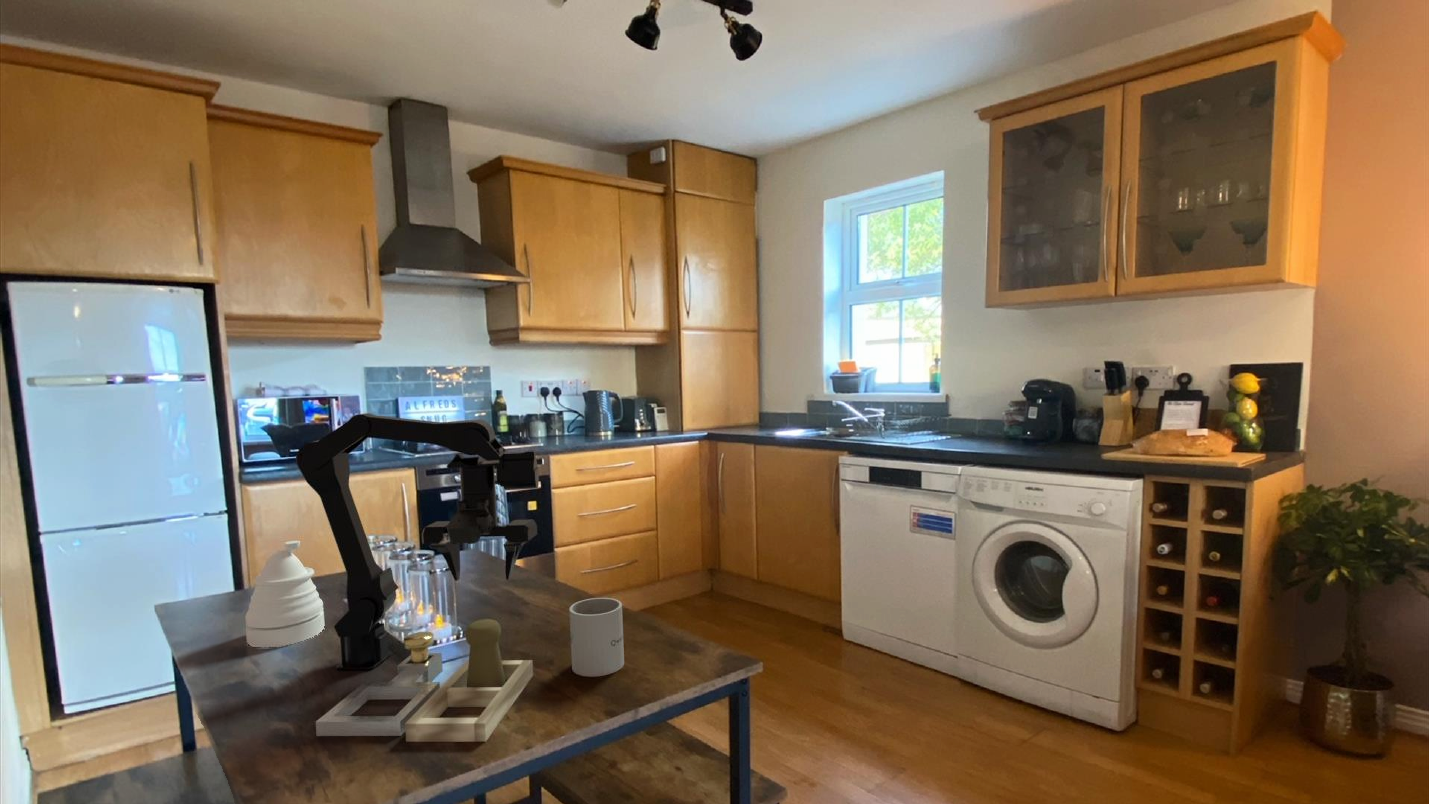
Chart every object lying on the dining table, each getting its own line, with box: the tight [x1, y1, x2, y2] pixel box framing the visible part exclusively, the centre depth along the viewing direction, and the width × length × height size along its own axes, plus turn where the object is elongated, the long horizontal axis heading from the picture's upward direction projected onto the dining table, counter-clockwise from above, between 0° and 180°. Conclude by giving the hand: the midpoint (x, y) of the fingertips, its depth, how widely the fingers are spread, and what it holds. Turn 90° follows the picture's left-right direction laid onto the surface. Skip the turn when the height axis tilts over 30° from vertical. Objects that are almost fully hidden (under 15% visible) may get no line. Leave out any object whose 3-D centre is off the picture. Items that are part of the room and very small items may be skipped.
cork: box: [465, 618, 507, 687], centre depth 108 cm, size 6×6×11 cm
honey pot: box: [244, 540, 325, 649], centre depth 134 cm, size 13×13×18 cm
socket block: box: [315, 652, 444, 737], centre depth 106 cm, size 12×20×3 cm, turn 177°
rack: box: [405, 659, 534, 743], centre depth 104 cm, size 11×20×2 cm, turn 177°
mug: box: [569, 597, 625, 678], centre depth 118 cm, size 12×9×10 cm
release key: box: [403, 631, 434, 664], centre depth 114 cm, size 4×4×6 cm
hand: (482, 579), depth 123 cm, fingers open, 9 cm apart
